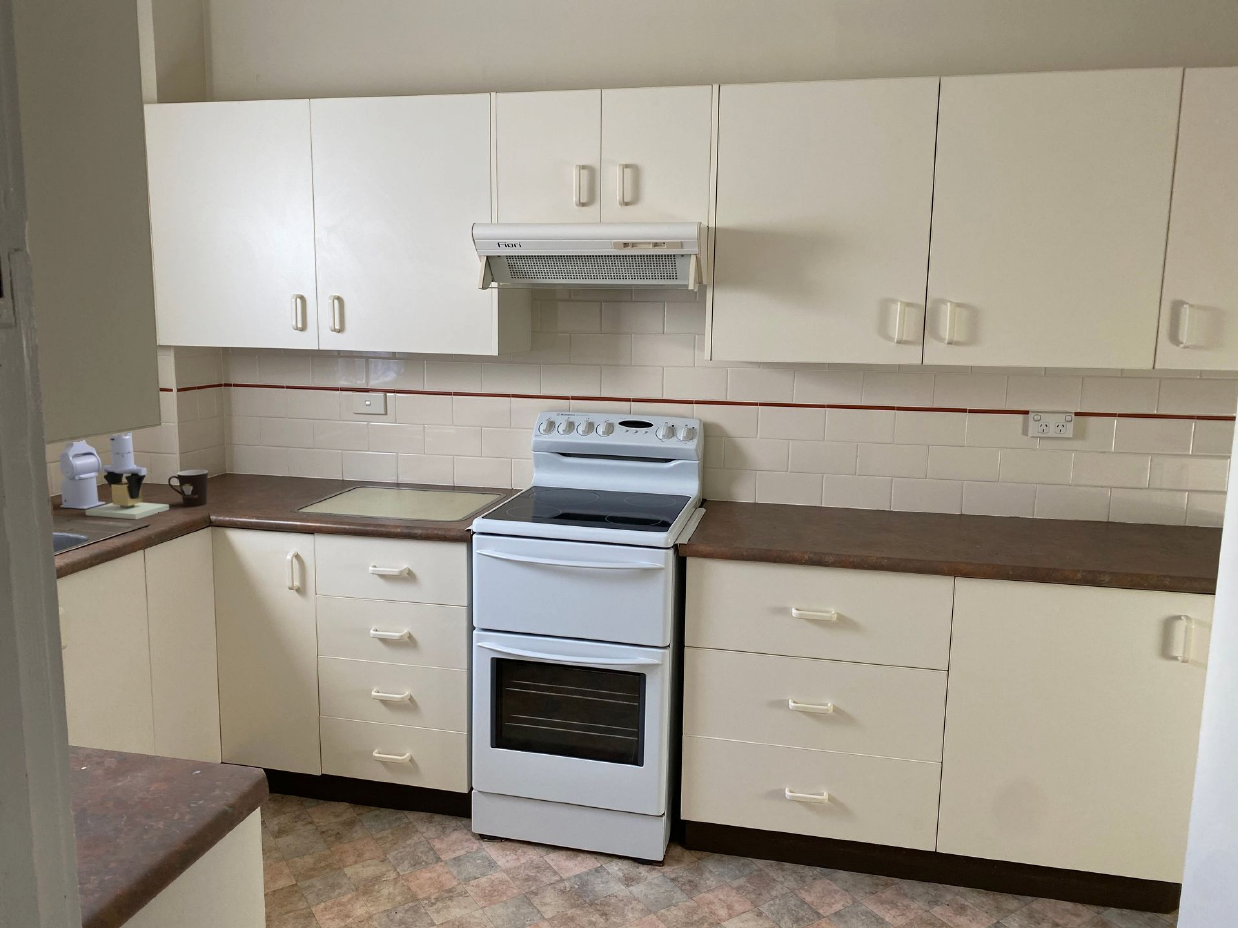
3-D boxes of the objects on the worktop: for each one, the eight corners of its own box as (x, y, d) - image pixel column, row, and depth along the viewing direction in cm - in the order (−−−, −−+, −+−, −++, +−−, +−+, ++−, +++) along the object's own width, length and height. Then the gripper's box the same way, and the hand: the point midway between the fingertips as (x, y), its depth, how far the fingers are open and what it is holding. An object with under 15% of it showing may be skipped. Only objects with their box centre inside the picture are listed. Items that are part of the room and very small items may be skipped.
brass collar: (112, 504, 278) (111, 484, 277) (127, 501, 283) (126, 481, 282) (128, 505, 276) (126, 485, 275) (142, 502, 282) (141, 482, 281)
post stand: (85, 515, 276) (83, 496, 275) (120, 505, 289) (118, 488, 288) (135, 519, 271) (134, 500, 270) (169, 509, 283) (167, 491, 282)
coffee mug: (216, 503, 292) (213, 471, 290) (191, 508, 285) (188, 476, 283) (192, 499, 298) (190, 467, 296) (167, 504, 290) (164, 472, 289)
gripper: (152, 451, 278) (156, 496, 281) (113, 449, 282) (117, 493, 285) (134, 455, 272) (138, 501, 274) (94, 452, 276) (98, 498, 278)
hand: (126, 497), depth 279 cm, fingers closed on brass collar, 6 cm apart
